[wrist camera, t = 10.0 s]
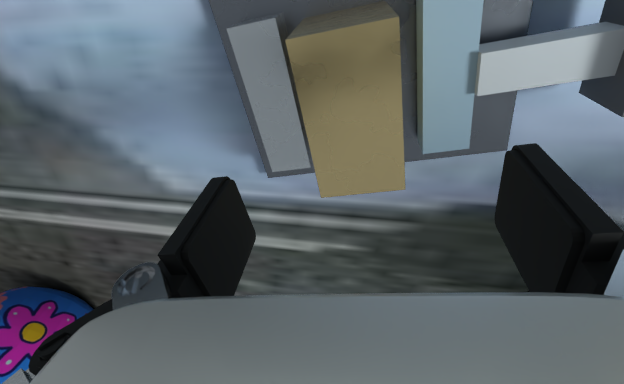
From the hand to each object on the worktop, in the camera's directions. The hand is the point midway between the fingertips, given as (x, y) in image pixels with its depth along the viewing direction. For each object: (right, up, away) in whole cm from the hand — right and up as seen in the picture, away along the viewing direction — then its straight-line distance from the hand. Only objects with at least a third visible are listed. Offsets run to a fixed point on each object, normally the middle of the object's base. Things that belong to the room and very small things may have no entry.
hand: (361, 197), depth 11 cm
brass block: (+1, +8, +11) cm, 13 cm away
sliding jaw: (+11, +9, +8) cm, 16 cm away
